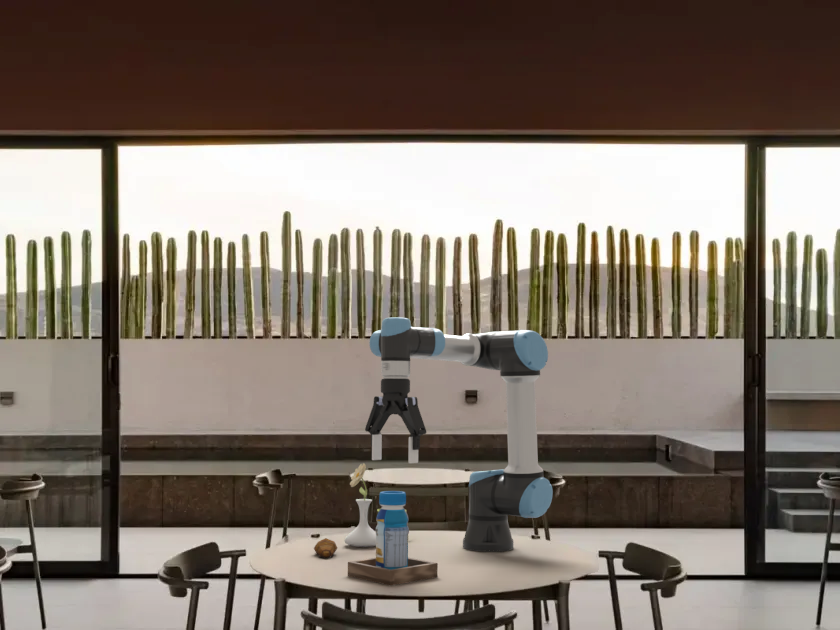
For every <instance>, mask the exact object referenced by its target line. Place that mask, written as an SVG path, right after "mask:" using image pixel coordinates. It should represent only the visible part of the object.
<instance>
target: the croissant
mask: <svg viewBox="0 0 840 630" xmlns="http://www.w3.org/2000/svg"><path fill="white" fill-rule="evenodd" d="M313 549H314V551H315V553H316V555H317V556H319V557H320V558H321V559H329V558H332V557H333V556H334V554H335V553H336V551H337V550H338V546H337V544H336V542H335V541H334V540H332V539H330V538H323V539H321V540H319V541H317V543H316V544H315V545H314V547H313Z"/></svg>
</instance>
